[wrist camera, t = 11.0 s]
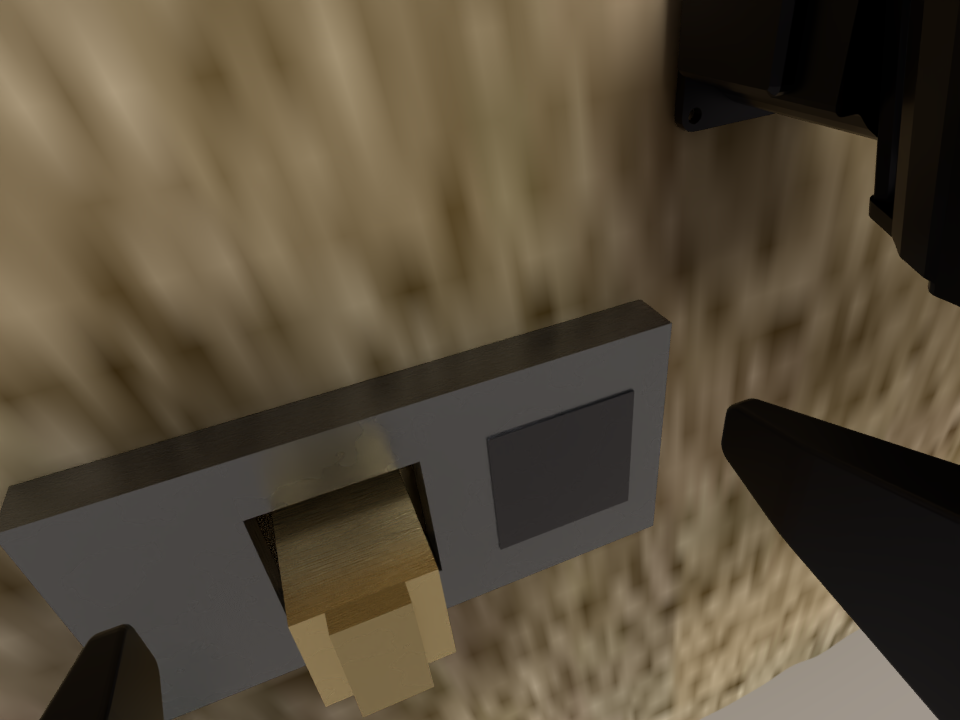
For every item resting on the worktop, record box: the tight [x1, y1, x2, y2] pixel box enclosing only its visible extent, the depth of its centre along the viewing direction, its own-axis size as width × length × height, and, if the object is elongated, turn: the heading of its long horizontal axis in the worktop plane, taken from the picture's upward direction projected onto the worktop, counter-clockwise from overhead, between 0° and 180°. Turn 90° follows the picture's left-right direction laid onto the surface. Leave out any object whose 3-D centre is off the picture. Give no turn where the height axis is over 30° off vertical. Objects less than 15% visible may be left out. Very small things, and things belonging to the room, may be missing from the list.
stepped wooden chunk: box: [271, 469, 456, 717], centre depth 22 cm, size 4×5×7 cm
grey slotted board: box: [0, 300, 672, 720], centre depth 24 cm, size 22×11×2 cm, turn 97°
